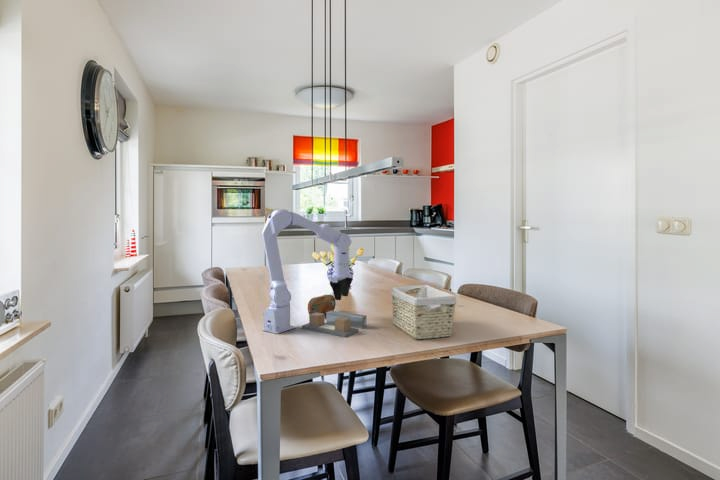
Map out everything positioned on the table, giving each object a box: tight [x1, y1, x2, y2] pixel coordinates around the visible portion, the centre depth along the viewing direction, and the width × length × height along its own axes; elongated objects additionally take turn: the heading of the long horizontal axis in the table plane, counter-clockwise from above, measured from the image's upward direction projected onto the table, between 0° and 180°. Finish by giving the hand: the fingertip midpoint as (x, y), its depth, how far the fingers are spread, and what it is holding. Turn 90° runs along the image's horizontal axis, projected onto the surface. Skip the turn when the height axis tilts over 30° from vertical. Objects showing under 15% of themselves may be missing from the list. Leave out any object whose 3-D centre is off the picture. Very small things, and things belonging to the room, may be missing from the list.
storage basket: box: [390, 284, 457, 340], centre depth 145 cm, size 24×16×15 cm
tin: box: [307, 294, 336, 317], centre depth 166 cm, size 15×3×8 cm, turn 143°
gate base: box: [301, 312, 359, 338], centre depth 145 cm, size 8×20×5 cm, turn 56°
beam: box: [325, 310, 368, 330], centre depth 152 cm, size 4×16×4 cm, turn 60°
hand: (341, 297), depth 156 cm, fingers open, 7 cm apart
